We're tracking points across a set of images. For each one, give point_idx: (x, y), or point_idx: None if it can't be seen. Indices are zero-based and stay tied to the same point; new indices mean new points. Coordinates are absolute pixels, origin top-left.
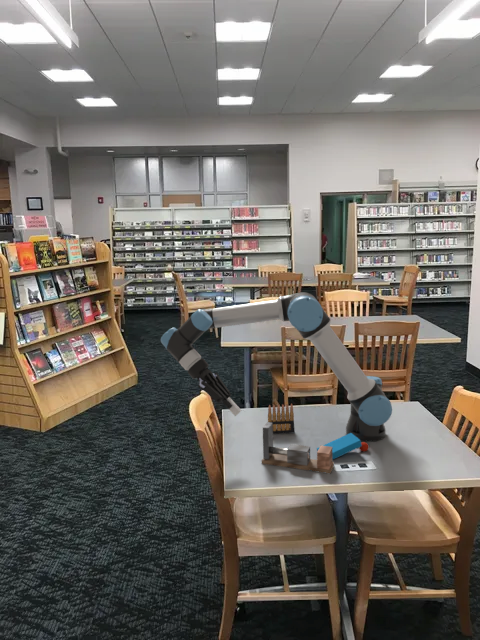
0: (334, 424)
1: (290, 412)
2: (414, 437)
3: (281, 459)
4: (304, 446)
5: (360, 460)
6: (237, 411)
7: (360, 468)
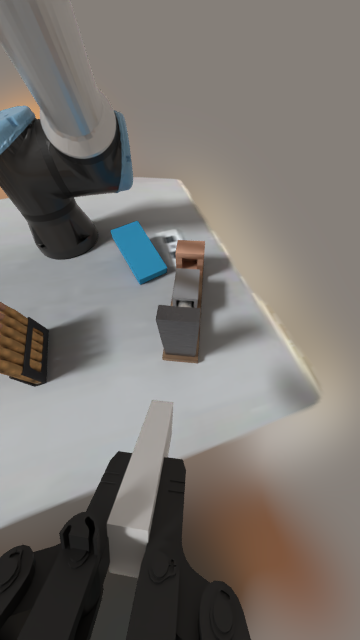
0: (23, 275)
1: (8, 313)
2: (87, 204)
3: None
4: (178, 275)
5: (156, 241)
6: (171, 419)
7: None
